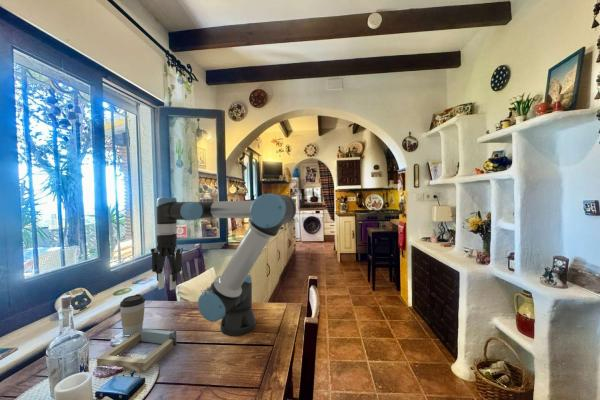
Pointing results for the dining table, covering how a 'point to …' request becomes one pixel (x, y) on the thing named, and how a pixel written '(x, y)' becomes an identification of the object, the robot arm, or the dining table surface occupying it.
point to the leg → (155, 336)
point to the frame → (133, 363)
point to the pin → (174, 337)
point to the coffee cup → (132, 314)
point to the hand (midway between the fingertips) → (167, 288)
